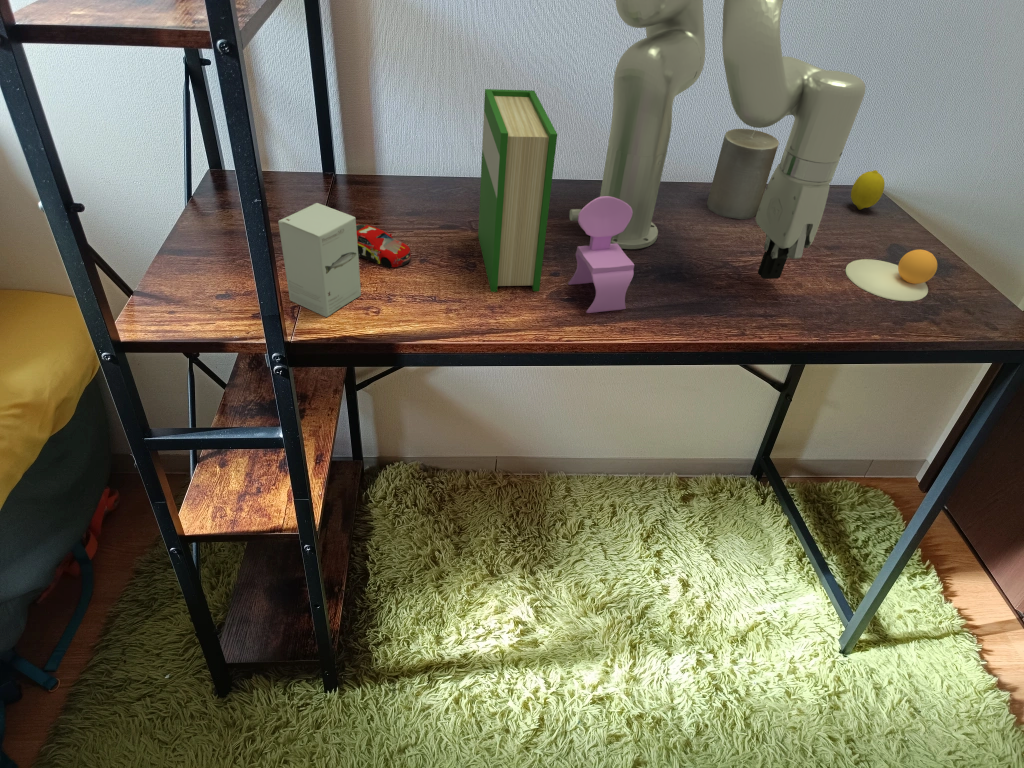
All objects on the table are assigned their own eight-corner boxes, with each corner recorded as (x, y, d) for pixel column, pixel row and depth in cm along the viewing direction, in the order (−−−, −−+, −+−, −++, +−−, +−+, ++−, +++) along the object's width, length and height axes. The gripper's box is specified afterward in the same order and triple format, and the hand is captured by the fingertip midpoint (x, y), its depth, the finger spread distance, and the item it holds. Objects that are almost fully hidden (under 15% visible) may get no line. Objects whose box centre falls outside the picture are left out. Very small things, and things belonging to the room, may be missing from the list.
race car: (418, 260, 111) (418, 237, 108) (397, 274, 107) (396, 251, 104) (353, 235, 115) (351, 213, 113) (330, 248, 111) (328, 225, 109)
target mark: (873, 302, 110) (873, 301, 110) (830, 261, 120) (831, 260, 120) (944, 299, 112) (945, 298, 112) (897, 259, 122) (897, 258, 122)
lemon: (869, 204, 140) (885, 166, 134) (877, 217, 135) (895, 177, 130) (841, 201, 140) (857, 163, 135) (849, 213, 135) (865, 174, 130)
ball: (949, 275, 113) (916, 296, 115) (928, 258, 117) (897, 278, 119) (939, 253, 110) (905, 275, 112) (918, 237, 114) (886, 258, 116)
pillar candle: (731, 194, 139) (752, 118, 129) (768, 214, 132) (793, 136, 123) (695, 202, 134) (714, 125, 125) (731, 224, 128) (754, 144, 119)
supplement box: (327, 319, 96) (317, 236, 88) (288, 300, 99) (275, 219, 91) (363, 296, 101) (357, 216, 93) (325, 279, 104) (316, 200, 96)
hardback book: (539, 291, 105) (557, 134, 90) (491, 292, 104) (501, 133, 89) (521, 235, 119) (534, 90, 103) (478, 235, 118) (484, 89, 102)
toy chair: (581, 315, 101) (596, 221, 92) (561, 284, 108) (574, 193, 98) (633, 310, 103) (653, 218, 94) (610, 279, 110) (627, 190, 100)
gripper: (760, 145, 104) (727, 253, 116) (809, 187, 93) (767, 302, 105) (805, 145, 106) (768, 252, 117) (859, 187, 95) (812, 301, 106)
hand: (768, 275), depth 111 cm, fingers closed
